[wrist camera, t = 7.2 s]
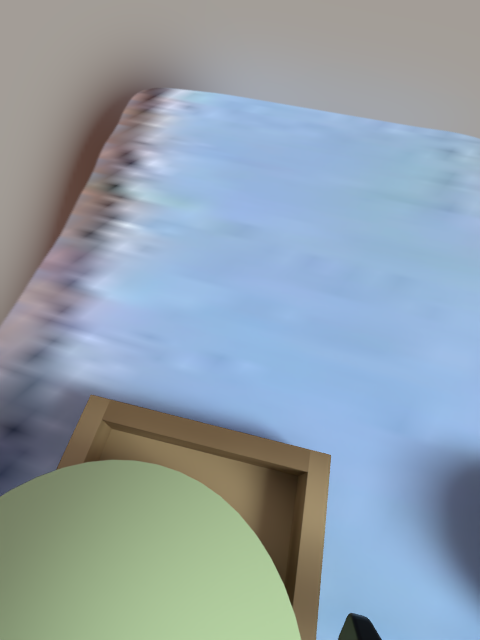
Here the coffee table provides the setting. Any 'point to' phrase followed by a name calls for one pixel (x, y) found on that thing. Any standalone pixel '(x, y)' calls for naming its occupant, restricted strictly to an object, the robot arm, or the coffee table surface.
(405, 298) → the coffee table surface
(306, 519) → the tray
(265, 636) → the green rounded tapered cylinder
